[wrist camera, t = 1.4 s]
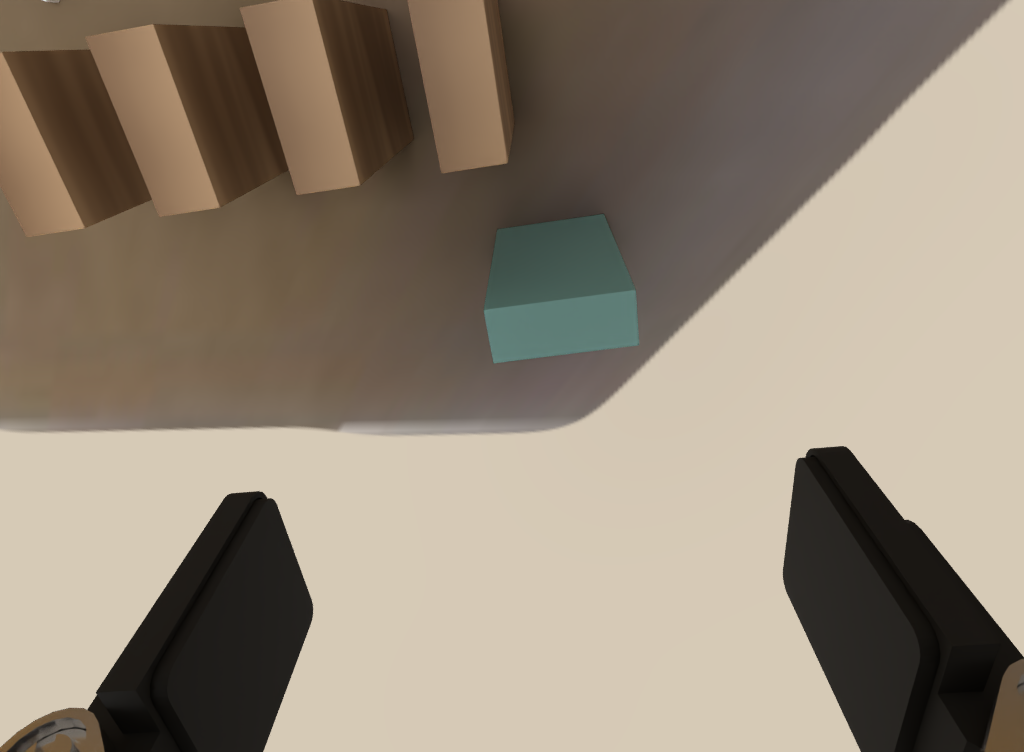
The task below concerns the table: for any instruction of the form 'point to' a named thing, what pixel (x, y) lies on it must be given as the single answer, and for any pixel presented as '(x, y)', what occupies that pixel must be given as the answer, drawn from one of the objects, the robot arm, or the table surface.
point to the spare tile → (558, 291)
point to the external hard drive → (55, 0)
